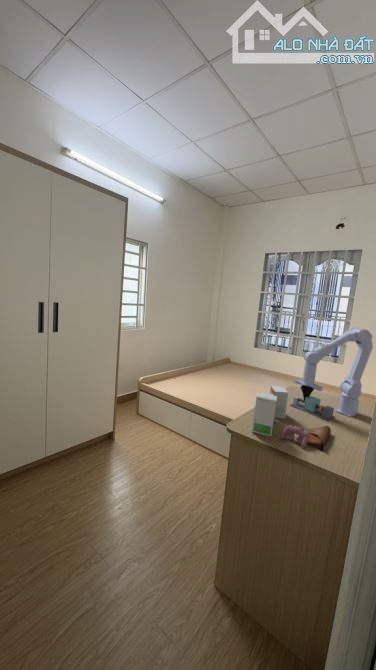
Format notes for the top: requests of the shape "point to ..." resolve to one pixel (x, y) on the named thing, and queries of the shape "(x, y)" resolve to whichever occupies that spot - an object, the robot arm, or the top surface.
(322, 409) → the linear slider
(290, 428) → the pink lumpy irregular piece
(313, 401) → the sleeve
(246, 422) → the top surface
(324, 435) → the sunglasses case
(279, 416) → the small box
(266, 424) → the skincare box
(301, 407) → the grey base plate
